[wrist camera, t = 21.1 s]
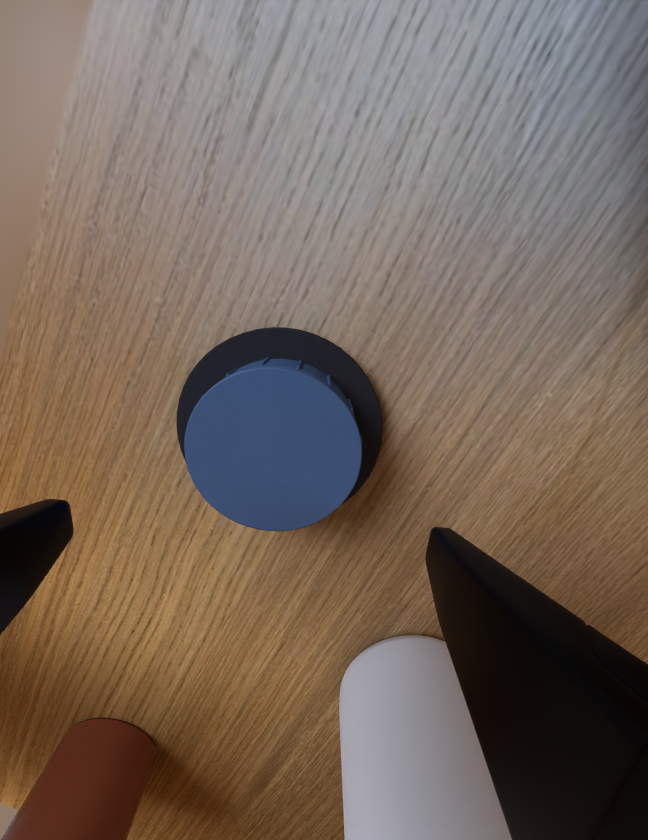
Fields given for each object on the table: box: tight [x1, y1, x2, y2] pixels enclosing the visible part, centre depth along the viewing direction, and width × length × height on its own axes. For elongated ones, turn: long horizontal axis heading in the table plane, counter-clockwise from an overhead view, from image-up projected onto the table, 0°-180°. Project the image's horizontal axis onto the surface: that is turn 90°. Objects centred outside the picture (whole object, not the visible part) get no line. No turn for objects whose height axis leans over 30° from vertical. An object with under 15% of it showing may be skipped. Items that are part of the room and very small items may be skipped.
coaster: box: [177, 327, 383, 505], centre depth 15 cm, size 9×9×1 cm
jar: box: [1, 719, 156, 840], centre depth 19 cm, size 6×6×8 cm
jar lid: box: [184, 357, 363, 531], centre depth 14 cm, size 7×7×2 cm
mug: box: [339, 635, 512, 840], centre depth 16 cm, size 12×8×10 cm
